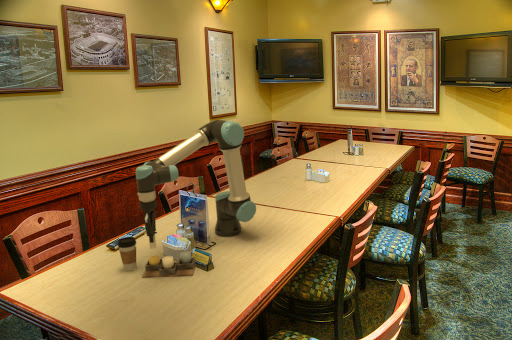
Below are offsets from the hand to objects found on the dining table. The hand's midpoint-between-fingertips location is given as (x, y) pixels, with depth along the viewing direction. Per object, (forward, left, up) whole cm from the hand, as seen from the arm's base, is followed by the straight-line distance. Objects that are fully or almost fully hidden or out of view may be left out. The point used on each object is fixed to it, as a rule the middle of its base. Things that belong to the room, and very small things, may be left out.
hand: (153, 247), depth 206 cm
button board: (-7, +2, -11) cm, 13 cm away
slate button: (-15, 0, -7) cm, 17 cm away
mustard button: (0, 0, -9) cm, 9 cm away
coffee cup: (+13, -2, -11) cm, 17 cm away
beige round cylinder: (-7, +5, -7) cm, 11 cm away
